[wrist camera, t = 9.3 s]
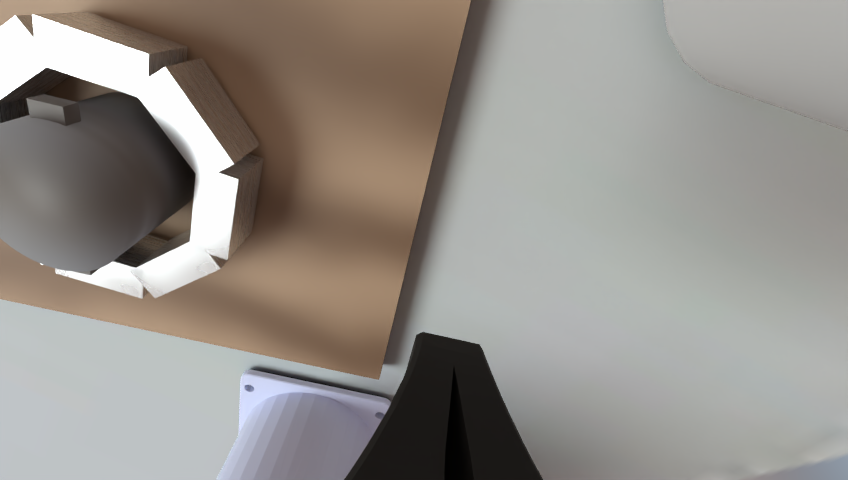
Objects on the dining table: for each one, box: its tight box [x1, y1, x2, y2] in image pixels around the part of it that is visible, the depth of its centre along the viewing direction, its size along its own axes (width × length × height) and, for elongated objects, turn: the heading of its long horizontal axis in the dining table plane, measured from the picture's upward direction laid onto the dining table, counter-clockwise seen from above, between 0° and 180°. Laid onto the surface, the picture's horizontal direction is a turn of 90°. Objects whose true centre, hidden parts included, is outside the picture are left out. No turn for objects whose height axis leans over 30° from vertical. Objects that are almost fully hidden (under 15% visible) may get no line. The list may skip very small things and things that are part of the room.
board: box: [0, 0, 471, 380], centre depth 16 cm, size 18×22×6 cm
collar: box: [0, 12, 263, 299], centre depth 16 cm, size 16×9×3 cm, turn 72°
